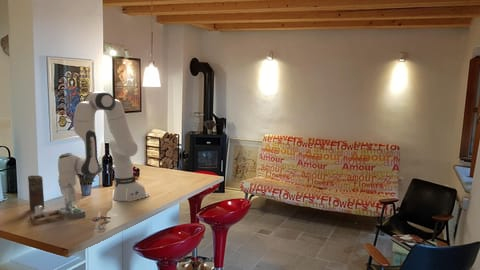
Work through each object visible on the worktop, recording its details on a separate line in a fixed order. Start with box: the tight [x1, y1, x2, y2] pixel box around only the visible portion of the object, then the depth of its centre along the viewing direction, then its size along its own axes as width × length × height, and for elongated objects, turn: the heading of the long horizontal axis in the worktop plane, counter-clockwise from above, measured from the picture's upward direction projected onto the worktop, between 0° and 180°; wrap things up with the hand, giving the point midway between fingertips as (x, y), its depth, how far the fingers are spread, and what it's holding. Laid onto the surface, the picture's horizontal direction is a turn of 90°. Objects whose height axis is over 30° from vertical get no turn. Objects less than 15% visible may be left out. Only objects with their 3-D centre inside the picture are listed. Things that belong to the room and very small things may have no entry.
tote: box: [57, 205, 78, 215], centre depth 210 cm, size 9×8×2 cm
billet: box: [64, 197, 72, 211], centre depth 210 cm, size 4×4×8 cm
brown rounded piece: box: [27, 175, 45, 212], centre depth 211 cm, size 8×7×20 cm
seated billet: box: [34, 205, 44, 219], centre depth 194 cm, size 4×4×8 cm
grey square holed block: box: [68, 207, 86, 219], centre depth 203 cm, size 7×7×3 cm
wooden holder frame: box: [29, 209, 64, 226], centre depth 197 cm, size 14×12×2 cm
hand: (68, 205), depth 210 cm, fingers closed on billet, 4 cm apart
